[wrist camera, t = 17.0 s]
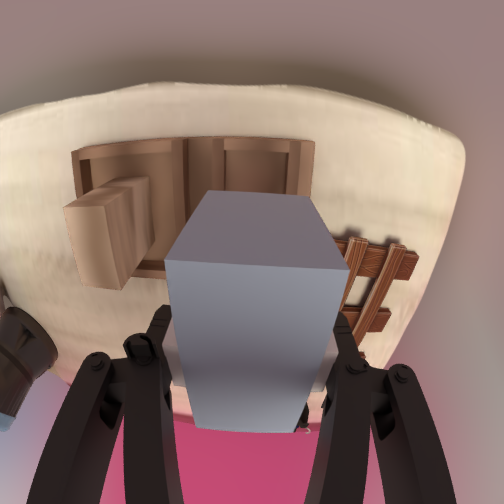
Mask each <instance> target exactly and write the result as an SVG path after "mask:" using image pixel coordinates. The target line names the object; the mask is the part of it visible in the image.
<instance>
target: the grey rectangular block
mask: <svg viewBox="0 0 504 504" xmlns="http://www.w3.org/2000/svg"><path fill="white" fill-rule="evenodd" d="M164 261H165V270H166V277H167V285H168V292H169V299H170V306H171V312H172V318H173V324H174V330H175V336H176V341H177V346H178V351H179V356H180V361H181V366H182V371H183V375H184V380H185V384H186V389H187V393H188V397H189V401H190V405H191V409H192V413H193V417H194V421H195V424H196V427H197V428H204V429H215V430H224V431H238V432H261V433H266V432H267V433H285V432H286V433H287V432H288V433H290V432H294V429H295V427H296V425H297V423H298V420H299V418H300V416H301V413H302V411H303V409H304V406H305V404H306V401H307V399H308V397H309V394H310V392H311V389H312V386H313V384H314V381H315V379H316V376H317V373H318V371H319V368H320V365H321V362H322V360H323V357H324V354H325V351H326V348H327V345H328V342H329V339H330V336H331V333H332V330H333V327H334V324H335V321H336V318H337V314H338V311H339V308H340V304H341V301H342V297H343V294H344V290H345V287H346V283H347V279H348V276H349V272H350V269H349V267H348V265H347V264H346V262H345V260H344V258H343V256H342V254H341V252H340V250H339V249H338V247H337V245H336V243H335V241H334V239H333V238H332V236H331V234H330V232H329V230H328V229H327V227H326V225H325V223H324V222H323V220H322V218H321V216H320V215H319V213H318V211H317V210H316V208H315V206H314V204H313V203H312V201H311V199H310V198H309V196H299V195H287V194H273V193H257V192H239V191H214V190H208V191H207V193H206V194H205V196H204V197H203V199H202V200H201V202H200V203H199V205H198V206H197V208H196V209H195V211H194V212H193V214H192V215H191V217H190V219H189V220H188V222H187V223H186V225H185V227H184V228H183V230H182V231H181V233H180V235H179V236H178V238H177V239H176V241H175V243H174V244H173V246H172V248H171V249H170V251H169V253H168V254H167V256H166V258H165V259H164Z"/></svg>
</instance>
